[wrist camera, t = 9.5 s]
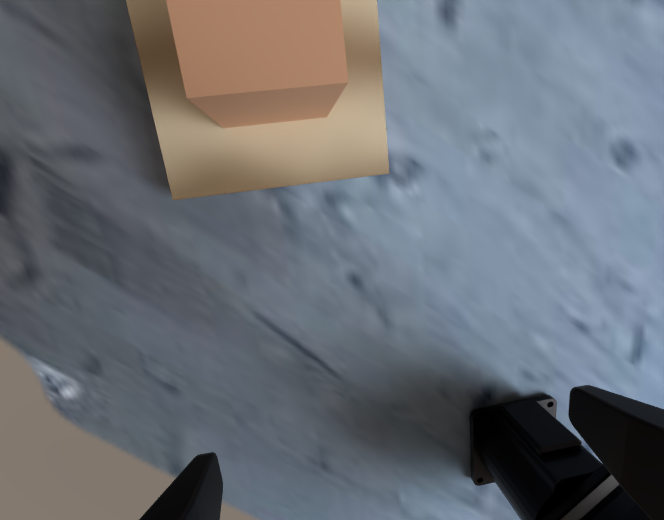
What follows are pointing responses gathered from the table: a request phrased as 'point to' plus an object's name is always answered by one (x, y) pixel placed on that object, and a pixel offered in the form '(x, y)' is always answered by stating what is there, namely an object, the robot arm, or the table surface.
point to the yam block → (260, 58)
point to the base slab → (265, 139)
